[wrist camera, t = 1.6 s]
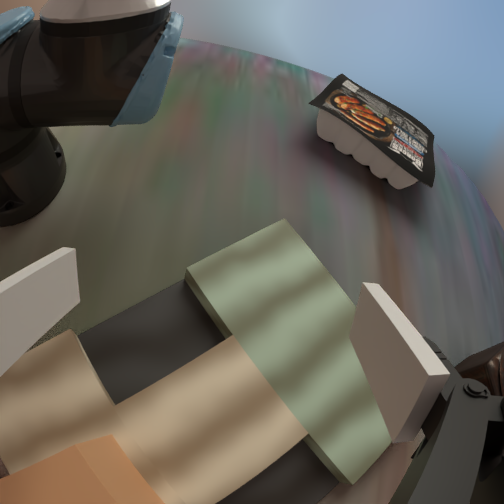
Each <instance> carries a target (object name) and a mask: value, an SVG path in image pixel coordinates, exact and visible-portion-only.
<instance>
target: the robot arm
mask: <svg viewBox="0 0 504 504" xmlns="http://www.w3.org/2000/svg"><path fill="white" fill-rule="evenodd" d="M170 5H171V0H48V1H47V2H46V4H45V5H44V6H43V7H42V8H41V11H40V20H33V17H34V12H33V11H32V8H31V7H29V6H26V7H18V8H15V9H12V10H9V11H7V12H4V13H2V14H0V226H9V225H14V224H17V223H20V222H22V221H25V220H27V219H29V218H31V217H32V216H34V215H36V214H37V213H38V212H40V211H41V210H42V209H43V208H45V207H46V206H47V205H48V204H49V203H50V202H51V201H52V200H53V198H54V197H55V196H56V194H57V193H58V191H59V190H60V188H61V186H62V184H63V182H64V179H65V175H66V162H65V157H64V153H63V149H62V147H61V145H60V143H59V142H58V140H57V139H56V138H55V136H54V135H53V133H52V132H51V130H50V129H49V127H56V126H84V125H109V126H110V127H113V126H116V125H124V124H143V123H146V122H148V121H149V120H151V119H152V118H153V117H154V116H155V114H156V113H157V111H158V109H159V106H160V103H161V100H162V97H163V94H164V90H165V87H166V84H167V80H168V77H169V73H170V70H171V66H172V62H173V58H174V53H175V51H176V47H177V44H178V42H179V38H180V35H181V31H182V27H183V22H184V18H183V16H182V15H180V14H177V13H176V12H170V13H169V10H170ZM79 302H80V295H79V286H78V275H77V263H76V249H74V248H67V247H62V248H60V249H58V250H56V251H54V252H53V253H51V254H49V255H47V256H45V257H43V258H41V259H40V260H38V261H36V262H34V263H32V264H30V265H29V266H27V267H25V268H23V269H22V270H20V271H18V272H16V273H14V274H13V275H11V276H9V277H8V278H6V279H4V280H2V281H1V282H0V377H1V376H2V375H3V374H4V373H5V372H6V371H7V370H8V369H9V368H10V367H11V366H12V365H13V364H14V363H15V362H16V361H17V360H18V359H19V358H20V357H21V356H22V355H23V354H24V353H25V352H26V351H27V350H28V349H29V348H30V347H31V346H32V345H33V344H34V343H35V342H36V341H38V340H39V339H40V338H41V337H42V336H43V335H44V334H45V333H46V332H47V331H48V330H49V329H50V328H51V327H53V326H54V325H55V324H56V323H57V322H58V321H59V320H60V319H61V318H62V317H64V316H65V315H66V314H67V313H68V312H69V311H70V310H71V309H72V308H74V307H75V306H76V305H77V304H78V303H79ZM349 339H350V341H351V343H352V346H353V348H354V350H355V352H356V355H357V357H358V359H359V362H360V364H361V366H362V369H363V371H364V373H365V376H366V378H367V380H368V383H369V385H370V388H371V390H372V392H373V395H374V397H375V400H376V402H377V405H378V407H379V409H380V412H381V414H382V417H383V419H384V422H385V424H386V427H387V430H388V432H389V435H390V437H391V440H392V442H393V443H399V442H407V441H413V440H414V439H415V437H416V435H417V434H418V432H419V431H420V429H421V428H422V430H423V432H424V434H425V438H424V439H423V441H422V442H421V444H420V445H419V447H418V448H417V450H416V451H415V452H414V454H413V455H412V457H411V458H412V459H413V460H412V462H411V464H410V466H409V468H408V470H407V472H406V474H405V476H404V478H403V479H402V481H401V483H400V485H399V487H398V488H397V490H396V492H395V493H394V495H393V497H392V499H391V500H390V502H389V503H388V504H469V502H470V504H504V397H503V396H493V395H491V394H490V391H489V390H488V388H487V387H486V386H485V385H483V384H482V383H481V382H479V381H477V380H474V379H470V378H462V377H461V376H460V374H459V373H458V372H457V370H456V369H455V368H454V367H453V365H452V364H451V363H450V361H449V360H447V358H446V356H445V355H444V354H443V353H441V352H442V351H441V350H440V349H439V348H438V346H437V345H436V344H435V343H434V342H432V341H431V340H429V339H428V338H426V337H422V336H421V335H420V334H419V332H418V331H417V330H416V329H415V327H414V326H413V325H412V324H411V323H410V321H409V320H408V319H407V318H406V316H405V315H404V314H403V313H402V312H401V310H400V309H399V308H398V307H397V305H396V304H395V303H394V302H393V301H392V300H391V298H390V297H389V296H388V295H387V294H386V292H385V291H384V290H383V289H382V288H381V287H380V285H379V284H374V283H362V287H361V291H360V295H359V299H358V303H357V307H356V311H355V315H354V319H353V323H352V326H351V330H350V333H349Z"/></svg>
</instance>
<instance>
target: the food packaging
mask: <svg viewBox="0 0 504 504" xmlns="http://www.w3.org/2000/svg"><path fill="white" fill-rule="evenodd" d="M308 104H311V105H313V106H316V107H318V108H320V110H319V113H318V117H317V134H318V136H319V137H320V138H322V139H324V140H325V141H327V142H332V143H334V145H335V148H336V149H337V150H339V151H340V152H342V153H343V154H352V156H353V158H354V159H355V160H356V161H358V162H359V163H361V164H362V165H368V166H370V170H371V172H372V173H373V174H374V175H375V176H377V177H379V178H387V180H388V182H389V184H390V185H392V186H393V187H394V188H396V189H403V188H405V187H408V186H411V185H412V184H414V183H416V182H417V181H418V180H419V181H420V182H422V183H424V184H425V185H427V186H429V187H431V188H432V186H433V182H434V178H435V164H434V153H433V141H434V135H433V134H432V132H430V130H429V129H428V128H427V127H426V126H424V125H423V124H422V123H421V122H420V121H418V120H417V119H415V118H414V117H413V116H411V115H410V114H408V113H407V112H405V111H403V110H402V109H400V108H398V107H397V106H395V105H393V104H391V103H390V102H388V101H386V100H384V99H382V98H380V97H379V96H377V95H375V94H373V93H371V92H370V91H368V90H366V89H364V88H363V87H361V86H359V85H358V84H356V83H354V82H353V81H352V80H350V79H349V78H347V77H346V76H345V75H343V74H340V75H339V76H337V77H336V78H335V79H334V80H333V81H332V82H331V83H330V84H329V85H328V86H327V87H326V88H325V89H324V90H323V92H322V93H321V94H319V95H318V96H317V97H316V98H315V99H314V100H312V101H311V102H310V103H308Z"/></svg>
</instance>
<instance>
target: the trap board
mask: <svg viewBox="0 0 504 504" xmlns="http://www.w3.org/2000/svg"><path fill="white" fill-rule="evenodd" d="M355 311H356V306H355V305H354V304H353V303H352V301H351V300H350V299H349V297H348V296H347V295H346V294H345V292H344V291H343V290H342V288H341V287H340V286H339V285H338V283H337V282H336V281H335V280H334V278H333V277H332V276H331V275H330V273H329V272H328V271H327V269H326V268H325V267H324V266H323V264H322V263H321V262H320V261H319V260H318V258H317V257H316V256H315V255H314V253H313V252H312V251H311V250H310V248H309V247H308V246H307V245H306V243H305V242H304V241H303V240H302V239H301V237H300V236H299V235H298V234H297V233H296V231H295V230H294V229H293V228H292V226H291V225H290V224H289V223H288V222H287V220H286V219H285V218H284V219H282V220H280V221H278V222H276V223H274V224H272V225H270V226H268V227H266V228H264V229H262V230H260V231H258V232H256V233H254V234H252V235H250V236H248V237H246V238H244V239H242V240H240V241H238V242H236V243H234V244H232V245H230V246H228V247H226V248H224V249H222V250H220V251H218V252H217V253H215V254H213V255H211V256H209V257H207V258H205V259H203V260H201V261H199V262H197V263H195V264H193V265H191V266H189V267H187V268H186V273H185V279H183V280H181V281H179V282H178V283H176V284H174V285H172V286H170V287H168V288H166V289H164V290H162V291H160V292H159V293H157V294H155V295H153V296H151V297H149V298H147V299H145V300H143V301H142V302H140V303H138V304H136V305H134V306H132V307H130V308H128V309H127V310H125V311H123V312H121V313H119V314H117V315H115V316H113V317H112V318H110V319H108V320H106V321H104V322H102V323H100V324H98V325H97V326H95V327H93V328H91V329H89V330H87V331H85V332H83V333H82V334H80V335H78V336H77V335H76V334H75V333H74V332H73V331H72V330H71V329H69V330H67V331H65V332H63V333H61V334H59V335H57V336H56V337H54V338H52V339H50V340H48V341H46V342H44V343H43V344H41V345H39V346H37V347H35V348H33V349H32V350H30V351H28V352H26V353H24V354H23V355H22V356H21V357H20V358H19V359H18V360H17V361H16V362H15V363H14V364H13V365H12V366H11V367H10V368H9V369H8V370H7V371H6V372H5V373H4V374H3V375H2V376H1V377H0V458H1V459H2V461H3V463H4V465H5V467H6V468H7V470H8V472H9V474H10V475H11V474H13V473H15V472H18V471H20V470H22V469H24V468H27V467H29V466H31V465H33V464H35V463H38V462H40V461H42V460H44V459H46V458H48V457H50V456H52V455H54V454H57V453H59V452H61V451H63V450H65V449H67V448H69V447H71V446H73V445H75V444H78V443H82V442H86V441H89V440H93V439H96V438H100V437H103V436H107V435H110V434H112V435H113V437H114V438H115V440H116V441H117V443H118V444H119V446H120V447H121V448H122V450H123V451H124V453H125V454H126V455H127V457H128V458H129V460H130V461H131V462H132V464H133V465H134V466H135V468H136V469H137V470H138V472H139V473H140V474H141V475H142V477H143V478H144V479H145V480H146V482H147V483H148V484H149V485H150V487H151V488H152V489H153V490H154V491H155V493H156V494H157V495H158V496H159V497H160V498H161V500H162V501H163V502H164V503H165V504H316V503H318V502H319V501H320V500H321V499H322V498H323V497H324V496H325V495H327V494H328V493H329V492H330V491H331V490H332V489H333V488H334V487H335V486H336V485H337V484H338V483H339V482H341V483H346V484H351V485H353V484H354V483H355V482H356V481H357V480H358V479H359V478H360V477H361V476H362V475H363V474H364V473H365V472H366V471H367V470H368V469H369V467H370V466H371V465H372V464H373V463H374V462H375V461H376V460H377V459H378V457H379V456H380V455H381V454H382V453H383V452H384V451H385V449H386V448H387V447H388V446H389V445H390V443H391V442H392V440H391V437H390V435H389V432H388V430H387V427H386V424H385V422H384V419H383V417H382V414H381V412H380V409H379V407H378V405H377V402H376V400H375V397H374V395H373V392H372V390H371V388H370V385H369V383H368V380H367V378H366V376H365V373H364V371H363V369H362V366H361V364H360V362H359V359H358V357H357V355H356V352H355V350H354V348H353V346H352V343H351V341H350V339H349V333H350V330H351V326H352V323H353V319H354V315H355Z"/></svg>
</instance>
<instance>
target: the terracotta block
mask: <svg viewBox="0 0 504 504" xmlns="http://www.w3.org/2000/svg"><path fill="white" fill-rule="evenodd" d="M0 504H165V503H164V502H163V501H162V500H161V498H160V497H159V496H158V495H157V494H156V493H155V491H154V490H153V489H152V488H151V487H150V485H149V484H148V483H147V482H146V480H145V479H144V478H143V477H142V475H141V474H140V473H139V472H138V470H137V469H136V468H135V466H134V465H133V464H132V462H131V461H130V460H129V458H128V457H127V455H126V454H125V453H124V451H123V450H122V448H121V447H120V446H119V444H118V443H117V441H116V440H115V438H114V437H113V435H112V434H110V435H107V436H103V437H100V438H96V439H93V440H89V441H86V442H82V443H78V444H75V445H73V446H71V447H69V448H67V449H65V450H63V451H61V452H59V453H57V454H54V455H52V456H50V457H48V458H46V459H44V460H42V461H40V462H38V463H35V464H33V465H31V466H29V467H27V468H24V469H22V470H20V471H18V472H15V473H13V474H11V475H8V476H6V477H4V478H1V479H0Z"/></svg>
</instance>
